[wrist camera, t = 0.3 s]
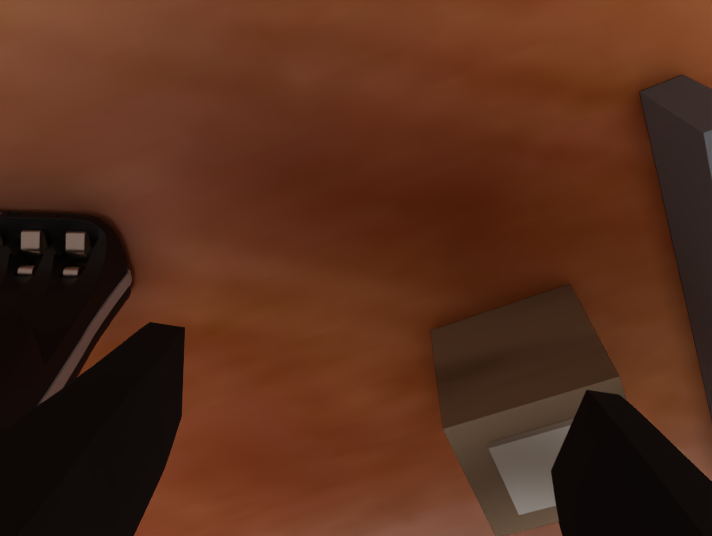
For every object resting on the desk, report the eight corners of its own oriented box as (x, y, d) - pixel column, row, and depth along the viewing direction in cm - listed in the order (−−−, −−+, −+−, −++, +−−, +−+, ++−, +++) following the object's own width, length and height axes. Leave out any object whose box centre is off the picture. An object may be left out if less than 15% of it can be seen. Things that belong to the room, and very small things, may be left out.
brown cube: (603, 389, 23) (658, 502, 19) (475, 427, 24) (497, 542, 20) (569, 282, 21) (622, 381, 16) (429, 329, 22) (443, 434, 18)
